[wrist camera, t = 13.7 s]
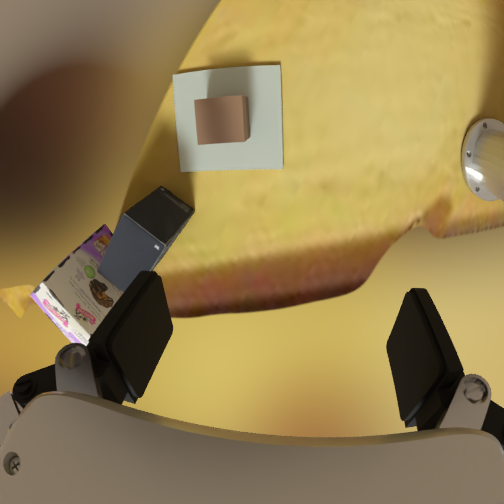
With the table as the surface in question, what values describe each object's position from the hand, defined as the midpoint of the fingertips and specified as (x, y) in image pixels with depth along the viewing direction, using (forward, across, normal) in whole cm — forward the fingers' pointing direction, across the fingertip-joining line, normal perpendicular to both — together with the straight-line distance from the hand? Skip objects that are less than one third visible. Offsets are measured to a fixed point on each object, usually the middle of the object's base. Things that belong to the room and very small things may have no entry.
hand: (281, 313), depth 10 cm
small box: (+26, +18, +9) cm, 33 cm away
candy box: (+26, +27, +16) cm, 41 cm away
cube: (+26, +8, -6) cm, 28 cm away
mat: (+27, +8, -6) cm, 28 cm away
